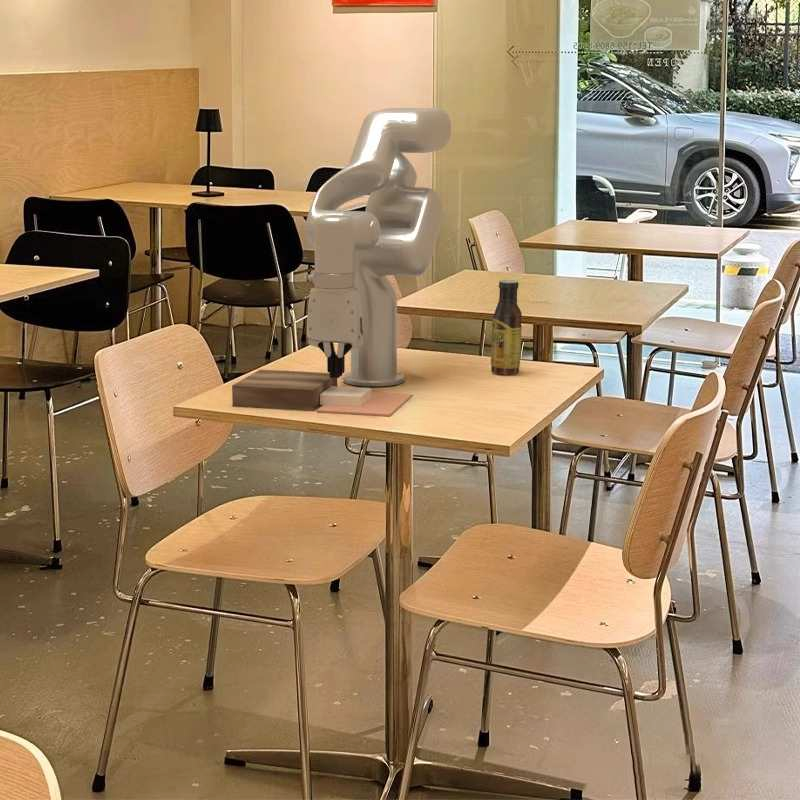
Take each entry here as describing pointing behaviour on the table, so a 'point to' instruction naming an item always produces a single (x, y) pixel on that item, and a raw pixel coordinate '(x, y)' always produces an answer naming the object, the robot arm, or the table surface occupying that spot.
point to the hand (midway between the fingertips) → (336, 376)
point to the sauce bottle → (506, 331)
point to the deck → (282, 389)
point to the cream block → (345, 396)
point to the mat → (372, 405)
